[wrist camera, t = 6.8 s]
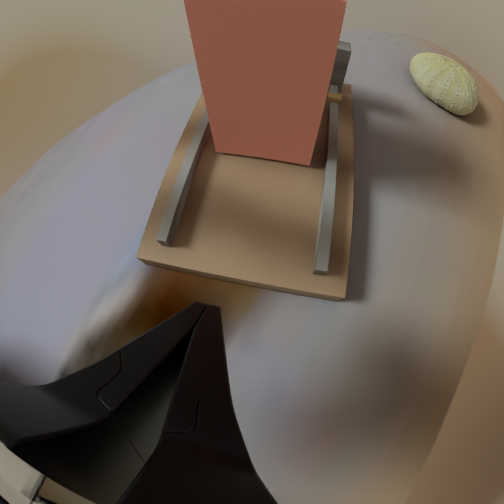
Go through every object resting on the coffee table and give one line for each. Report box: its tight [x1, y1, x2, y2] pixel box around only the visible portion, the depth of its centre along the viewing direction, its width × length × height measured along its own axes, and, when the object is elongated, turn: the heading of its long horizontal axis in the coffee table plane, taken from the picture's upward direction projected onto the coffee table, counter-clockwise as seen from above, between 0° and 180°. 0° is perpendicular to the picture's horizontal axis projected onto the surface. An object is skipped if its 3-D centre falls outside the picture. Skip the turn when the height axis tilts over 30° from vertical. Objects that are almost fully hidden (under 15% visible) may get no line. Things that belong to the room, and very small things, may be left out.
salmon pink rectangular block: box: [184, 0, 347, 166], centre depth 12 cm, size 6×6×11 cm
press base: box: [136, 41, 354, 302], centre depth 16 cm, size 18×12×6 cm, turn 169°
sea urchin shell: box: [410, 52, 479, 115], centre depth 20 cm, size 9×8×8 cm
